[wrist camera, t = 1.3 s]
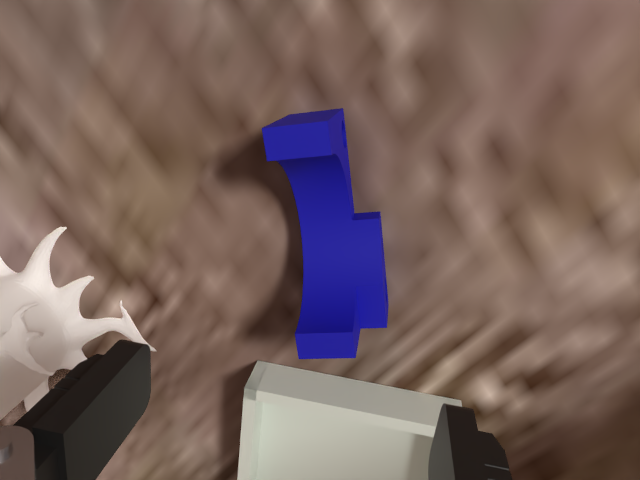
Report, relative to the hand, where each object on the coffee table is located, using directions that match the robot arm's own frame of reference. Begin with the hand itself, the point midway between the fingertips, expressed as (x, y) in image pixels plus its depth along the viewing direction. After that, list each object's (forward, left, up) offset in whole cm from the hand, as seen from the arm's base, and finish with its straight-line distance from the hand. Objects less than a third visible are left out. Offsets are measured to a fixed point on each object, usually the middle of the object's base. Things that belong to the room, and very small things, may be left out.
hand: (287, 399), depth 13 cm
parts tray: (-2, +21, -17) cm, 27 cm away
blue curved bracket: (0, 0, -17) cm, 17 cm away
